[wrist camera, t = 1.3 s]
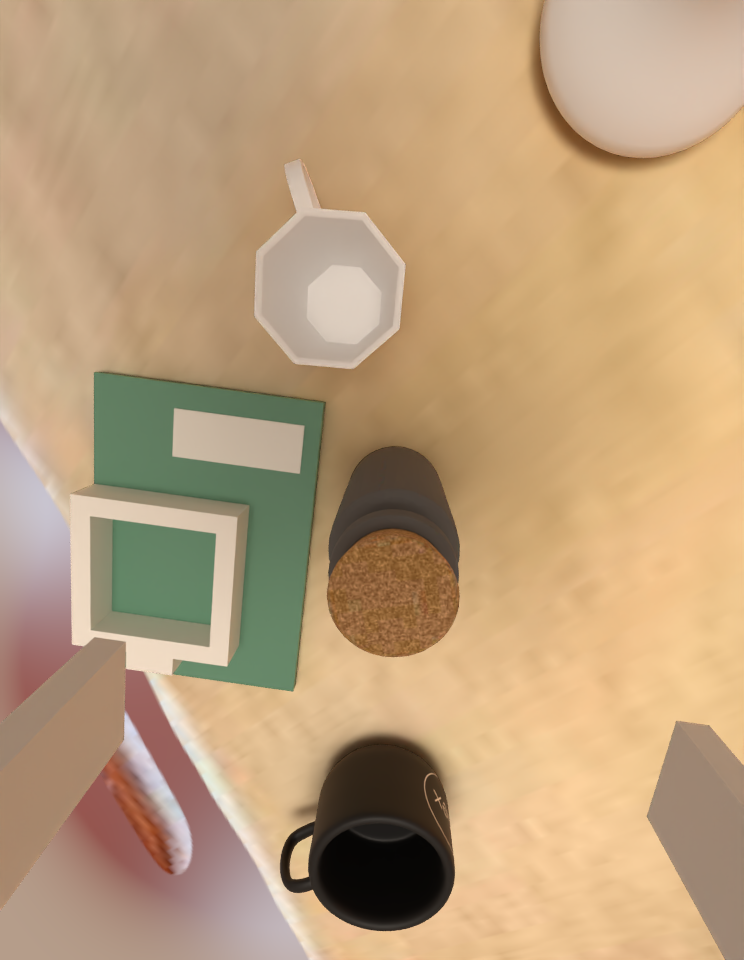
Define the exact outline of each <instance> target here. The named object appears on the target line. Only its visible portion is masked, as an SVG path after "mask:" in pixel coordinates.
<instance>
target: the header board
mask: <svg viewBox="0 0 744 960" xmlns="http://www.w3.org/2000/svg"><path fill="white" fill-rule="evenodd" d="M324 411H325V402H322V401H314V400H307V399H299V398H292V397H285V396H277V395H270V394H262V393H255V392H247V391H240V390H233V389H225V388H218V387H210V386H203V385H195V384H188V383H181V382H173V381H166V380H158V379H151V378H143V377H136V376H129V375H121V374H114V373H106V372H94V484H92V485H90V486H88V487H85V488H83V489H81V490H78V491H76V492H74V493H71V494H70V532H71V599H72V600H71V603H72V644H73V645H80V646H85V645H86V644H87V643H89V642H90V641H91V640H92V639H93V638H94V637H97V638H104V639H111V640H118V641H125V642H126V664H125V667H126V669H131V670H138V671H145V672H152V673H159V674H166V675H173V674H175V675H182V676H189V677H196V678H203V679H210V680H217V681H224V682H230V683H237V684H244V685H251V686H258V687H265V688H272V689H279V690H286V691H294V687H295V683H296V674H297V665H298V655H299V646H300V636H301V627H302V618H303V608H304V599H305V589H306V580H307V571H308V561H309V552H310V542H311V533H312V523H313V514H314V505H315V495H316V486H317V476H318V467H319V458H320V448H321V439H322V429H323V420H324Z"/></svg>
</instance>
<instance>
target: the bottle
mask: <svg viewBox="0 0 744 960" xmlns="http://www.w3.org/2000/svg"><path fill="white" fill-rule="evenodd" d="M459 552H460V544H459V538H458V534H457V530H456V526H455V523H454V520H453V517H452V514H451V511H450V508H449V505H448V502H447V499H446V496H445V493H444V490H443V487H442V484H441V482H440V479H439V477H438V474H437V472H436V470H435V469H434V467H433V466H432V465H431V463H430V462H429V461H428V460H427V459H426V458H425V457H424V456H422V455H421V454H419V453H418V452H415V451H413V450H411V449H408V448H404V447H387V448H382V449H379V450H376V451H374V452H372V453H371V454H369V455H368V456H366V457H365V458H364V459H363V460H362V461H361V462H360V463H359V464H358V466H357V467H356V469H355V470H354V472H353V474H352V476H351V479H350V481H349V484H348V486H347V489H346V491H345V494H344V496H343V499H342V502H341V504H340V507H339V510H338V513H337V515H336V518H335V521H334V524H333V527H332V530H331V534H330V538H329V560H330V564H329V572H328V573H329V583H328V589H327V600H328V607H329V611H330V614H331V616H332V619H333V621H334V623H335V625H336V626H337V628H338V629H339V630H340V632H341V633H342V634H343V635H344V637H345V638H347V639H348V640H349V641H350V642H351V643H353V644H354V645H355V646H357V647H359V648H360V649H362V650H364V651H366V652H369V653H372V654H376V655H380V656H386V657H402V656H409V655H413V654H416V653H419V652H422V651H424V650H426V649H427V648H429V647H431V646H432V645H434V644H435V643H437V642H438V641H439V640H440V639H441V638H442V637H443V636H444V635H445V634H446V633H447V632H448V630H449V629H450V627H451V626H452V624H453V622H454V620H455V617H456V614H457V611H458V607H459V597H460V596H459V586H458V579H459V570H458V562H459Z"/></svg>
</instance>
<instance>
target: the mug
mask: <svg viewBox="0 0 744 960" xmlns="http://www.w3.org/2000/svg"><path fill="white" fill-rule="evenodd" d="M311 835H313V838H312V843H311V849H310V854H309V863H308V872H309V877H307V878H303V879H292V878H291V876H290V869H289V866H290V858H291V854H292V851H293V849H294V847H295V846H296V844H297V843H298V842H300V841H301V840H303V839H305V838H307V837H309V836H311ZM280 873H281V878H282V881H283V884H284V886H285V887H286V888H287V889H288V890H289V891H291V892H294V893H302V892H307V891H310V890H313V891H314V893H315V895H316V896H317V898H318V899H319V901H320V902H321V903H322V904H323V906H324V907H325V908H326V909H327V910H329V911H330V912H331V913H332V914H333V915H335V916H336V917H338V918H339V919H341V920H343V921H345V922H347V923H349V924H351V925H354V926H357V927H360V928H364V929H369V930H376V931H395V930H402V929H407V928H410V927H413V926H416V925H418V924H421V923H423V922H425V921H426V920H428V919H430V918H431V917H432V916H434V915H435V914H436V913H437V912H438V911H439V910H440V909H441V908H442V907H443V906H444V904H445V903H446V902H447V900H448V898H449V896H450V894H451V892H452V888H453V885H454V878H455V866H454V856H453V848H452V839H451V830H450V821H449V812H448V804H447V799H446V794H445V791H444V789H443V786H442V784H441V782H440V780H439V778H438V777H437V775H436V774H435V772H434V771H433V770H432V768H431V767H430V766H429V765H428V764H427V763H426V762H425V761H424V760H423V759H422V758H420V757H419V756H418V755H416V754H414V753H413V752H411V751H409V750H406V749H404V748H401V747H397V746H392V745H371V746H366V747H362V748H360V749H357V750H355V751H353V752H351V753H349V754H348V755H347V756H345V757H344V758H343V759H342V760H340V761H339V762H338V763H337V764H336V765H335V767H334V768H333V769H332V770H331V772H330V773H329V775H328V776H327V778H326V780H325V782H324V784H323V787H322V790H321V793H320V798H319V803H318V809H317V815H316V820H315V821H314V822H312V823H309V824H307V825H305V826H303V827H301V828H299V829H297V830H296V831H294V832H293V833H292V834H291V835H290V836H289V837H288V839H287V840H286V842H285V844H284V847H283V850H282V854H281V860H280Z"/></svg>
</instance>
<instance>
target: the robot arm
mask: <svg viewBox="0 0 744 960" xmlns="http://www.w3.org/2000/svg"><path fill="white" fill-rule="evenodd" d="M125 664H126V642H125V641H118V640H111V639H104V638H97V637H94V638H93V639H92V640H91V641H90V642H89V643H87V644H86V645H85V646H84V647H83V648H82V649H81V650H80V651H79V652H78V653H76V654H75V655H74V656H73V657H72V658H71V659H70V660H69V661H68V662H67V663H66V664H64V665H63V666H62V667H61V668H60V669H59V670H58V671H57V672H56V673H55V674H53V675H52V676H51V677H50V678H49V679H48V680H47V681H46V682H45V683H44V684H43V685H41V686H40V688H38V689H37V690H36V691H35V692H34V693H33V694H32V695H31V696H29V697H28V698H27V699H26V700H25V701H24V702H23V703H22V704H21V705H20V706H18V707H17V708H16V709H15V710H14V711H13V712H12V713H11V714H10V715H9V716H8V717H6V718H5V719H4V720H3V721H2V722H1V723H0V911H1V910H2V908H3V907H4V905H5V904H6V903H7V901H8V900H9V898H10V897H11V896H12V894H13V893H14V891H15V890H16V889H17V887H18V886H19V885H20V883H21V882H22V880H23V879H24V877H25V876H26V875H27V873H28V872H29V871H30V869H31V868H32V867H33V865H34V864H35V862H36V861H37V860H38V858H39V857H40V855H41V854H42V853H43V851H44V850H45V848H46V847H47V846H48V844H49V843H50V841H51V840H52V839H53V837H54V836H55V834H56V833H57V832H58V830H59V829H60V827H61V826H62V825H63V823H64V822H65V821H66V819H67V818H68V817H69V815H70V813H71V812H72V811H73V809H74V808H75V807H76V805H77V804H78V803H79V801H80V800H81V798H82V797H83V796H84V794H85V793H86V792H87V790H88V789H89V787H90V786H91V785H92V783H93V782H94V781H95V779H96V778H97V776H98V775H99V774H100V772H101V771H102V769H103V768H104V767H105V765H106V764H107V762H108V761H109V760H110V758H111V757H112V756H113V754H114V753H115V751H116V750H117V749H118V747H119V746H120V744H121V743H122V742H123V740H124V713H125ZM647 818H648V820H649V821H650V823H651V825H652V827H653V829H654V831H655V832H656V834H657V836H658V838H659V840H660V842H661V843H662V845H663V847H664V849H665V851H666V852H667V854H668V856H669V858H670V860H671V862H672V863H673V865H674V867H675V869H676V871H677V873H678V874H679V876H680V878H681V880H682V882H683V884H684V885H685V887H686V889H687V891H688V893H689V895H690V896H691V898H692V900H693V902H694V904H695V905H696V907H697V909H698V911H699V913H700V915H701V916H702V918H703V920H704V922H705V924H706V926H707V927H708V929H709V931H710V933H711V935H712V937H713V938H714V940H715V942H716V944H717V946H718V947H719V949H720V951H721V953H722V955H723V957H724V958H725V960H744V766H743V764H742V763H741V762H740V761H739V760H738V759H737V757H736V756H735V755H734V754H733V753H732V752H731V750H730V749H729V748H728V747H727V746H726V745H725V743H724V742H723V741H722V740H721V739H720V738H719V736H718V735H717V734H716V733H715V732H714V731H713V729H712V728H711V727H710V726H709V725H702V724H695V723H688V722H681V721H676V724H675V727H674V730H673V734H672V737H671V740H670V743H669V747H668V750H667V753H666V756H665V759H664V763H663V766H662V769H661V772H660V776H659V779H658V782H657V785H656V789H655V792H654V795H653V798H652V802H651V805H650V808H649V811H648V815H647Z"/></svg>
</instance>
